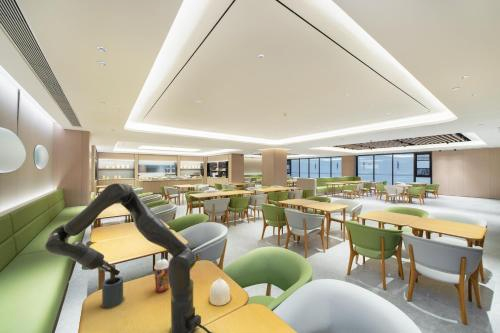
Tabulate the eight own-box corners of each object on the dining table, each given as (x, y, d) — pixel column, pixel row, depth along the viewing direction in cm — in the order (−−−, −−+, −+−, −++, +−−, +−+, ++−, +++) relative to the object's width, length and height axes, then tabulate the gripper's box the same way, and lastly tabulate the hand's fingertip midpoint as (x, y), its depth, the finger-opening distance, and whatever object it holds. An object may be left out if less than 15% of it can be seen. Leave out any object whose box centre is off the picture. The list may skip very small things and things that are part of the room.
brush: (119, 293, 110) (119, 265, 110) (109, 298, 106) (109, 268, 107) (115, 291, 113) (115, 262, 113) (105, 295, 109) (105, 266, 109)
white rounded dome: (233, 301, 110) (233, 278, 110) (213, 308, 105) (213, 283, 105) (225, 290, 120) (225, 269, 120) (206, 296, 115) (206, 273, 115)
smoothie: (164, 294, 116) (164, 258, 116) (150, 292, 118) (150, 256, 118) (172, 286, 124) (172, 252, 124) (160, 284, 126) (160, 251, 126)
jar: (126, 300, 111) (126, 279, 111) (107, 310, 103) (107, 287, 103) (118, 295, 116) (117, 274, 116) (99, 303, 108) (99, 282, 109)
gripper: (102, 253, 100) (129, 269, 110) (90, 247, 107) (116, 262, 118) (88, 269, 95) (118, 284, 105) (77, 261, 103) (105, 276, 113)
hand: (117, 272), depth 111 cm, fingers closed on brush
